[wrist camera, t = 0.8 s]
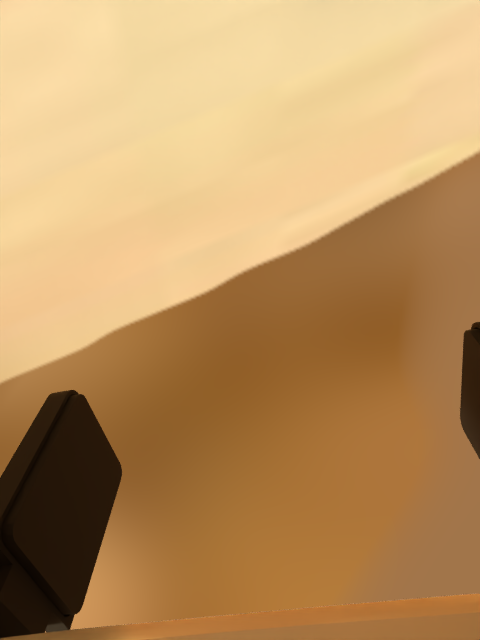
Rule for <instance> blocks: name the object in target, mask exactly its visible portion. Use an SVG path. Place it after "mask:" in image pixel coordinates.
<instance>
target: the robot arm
mask: <svg viewBox="0 0 480 640" xmlns="http://www.w3.org/2000/svg"><path fill="white" fill-rule="evenodd" d="M463 343H464V344H463V365H462V386H461V408H460V419H461V424H462V427H463V430H464V432H465V434H466V435H467V437H468V439H469V441H470V442H471V444H472V446H473V448H474V450H475V451H476V453H477V455H478V457H479V459H480V322H476V323H474V324H473V325H472V327H471V330H467V331H465V333H464V342H463ZM121 476H122V469H121V465H120V462H119V460H118V459H117V457H116V455H115V453H114V451H113V449H112V447H111V445H110V443H109V442H108V440H107V438H106V436H105V434H104V432H103V430H102V428H101V426H100V424H99V423H98V421H97V419H96V417H95V415H94V413H93V411H92V409H91V408H90V406H89V403H88V402H87V400H86V398H85V396H84V395H82V394H78V393H77V392H76V391H75V390H69V391H63V392H57V393H52V394H50V395H49V396H48V398H47V399H46V401H45V403H44V404H43V406H42V408H41V409H40V411H39V413H38V414H37V416H36V418H35V420H34V421H33V423H32V425H31V426H30V428H29V430H28V432H27V433H26V435H25V437H24V438H23V440H22V442H21V443H20V445H19V447H18V448H17V450H16V452H15V454H14V455H13V457H12V459H11V460H10V462H9V464H8V466H7V467H6V469H5V471H4V472H3V474H2V476H1V478H0V640H480V593H478V594H463V595H451V596H440V597H428V598H417V599H404V600H392V601H381V602H369V603H358V604H345V605H335V606H323V607H311V608H300V609H289V610H278V611H266V612H257V613H256V612H255V613H244V614H233V615H222V616H212V617H202V618H189V619H179V620H169V621H158V622H147V623H137V624H127V625H116V626H106V627H95V628H85V629H75V630H70V627H71V624H72V621H73V618H74V615H75V614H77V613H78V612H79V611H80V610H81V608H82V605H83V602H84V599H85V596H86V593H87V589H88V586H89V583H90V579H91V576H92V573H93V570H94V566H95V563H96V560H97V556H98V553H99V550H100V547H101V543H102V540H103V537H104V533H105V530H106V527H107V523H108V520H109V517H110V514H111V510H112V507H113V504H114V500H115V497H116V494H117V491H118V487H119V484H120V480H121ZM45 631H46V632H47V633H45Z"/></svg>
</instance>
